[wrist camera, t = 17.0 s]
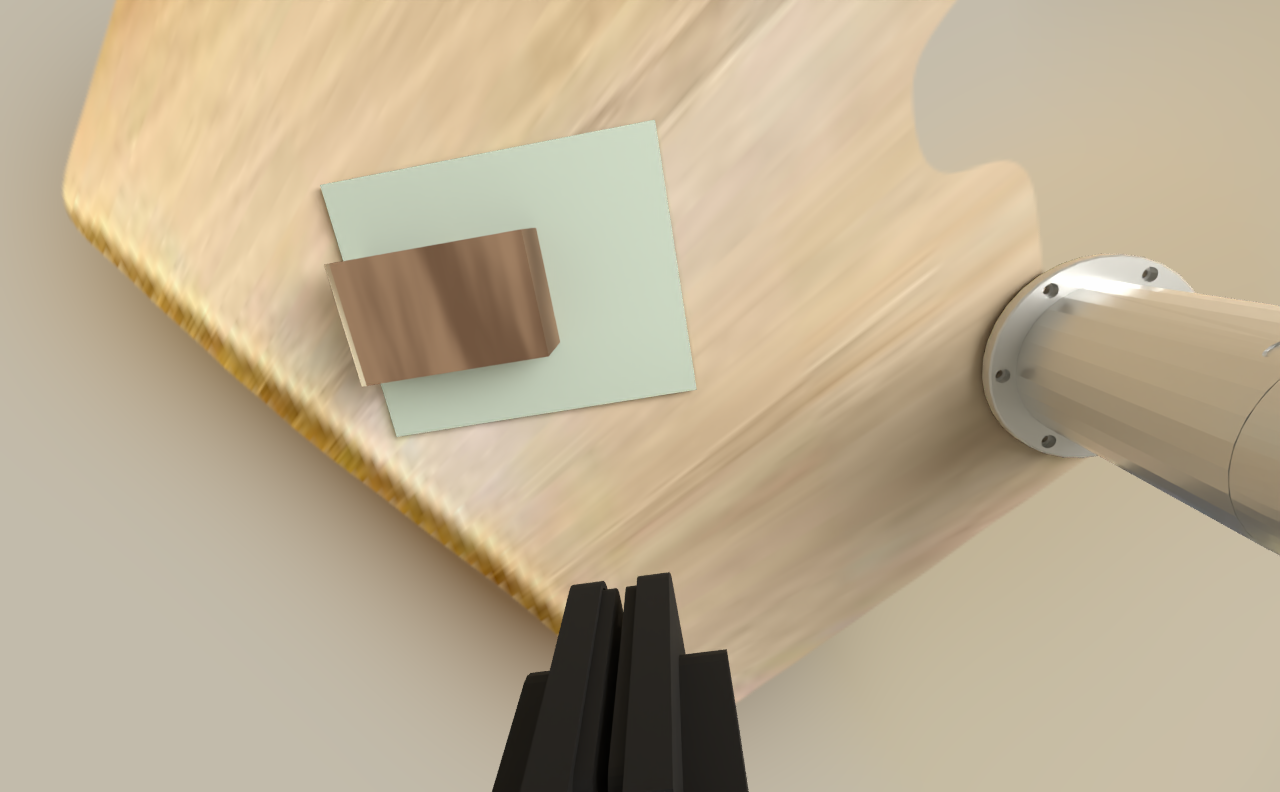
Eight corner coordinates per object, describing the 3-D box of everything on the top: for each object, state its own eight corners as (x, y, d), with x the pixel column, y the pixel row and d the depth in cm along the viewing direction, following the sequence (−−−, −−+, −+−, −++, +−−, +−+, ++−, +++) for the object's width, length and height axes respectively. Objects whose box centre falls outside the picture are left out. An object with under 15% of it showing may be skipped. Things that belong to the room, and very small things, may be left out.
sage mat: (654, 120, 35) (654, 119, 34) (696, 387, 39) (696, 389, 39) (323, 185, 36) (320, 185, 36) (399, 434, 41) (396, 436, 40)
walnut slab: (521, 229, 32) (323, 264, 33) (548, 356, 34) (361, 386, 35) (536, 227, 36) (358, 259, 37) (560, 342, 38) (391, 369, 39)
